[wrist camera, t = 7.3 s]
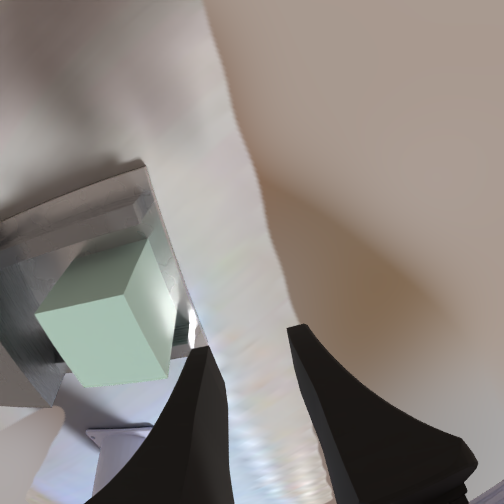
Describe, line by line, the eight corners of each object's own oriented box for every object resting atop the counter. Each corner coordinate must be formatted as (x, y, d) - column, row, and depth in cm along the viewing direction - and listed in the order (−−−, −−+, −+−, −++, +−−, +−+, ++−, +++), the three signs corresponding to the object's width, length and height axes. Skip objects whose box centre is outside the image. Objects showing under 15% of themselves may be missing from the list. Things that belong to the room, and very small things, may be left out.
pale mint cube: (176, 311, 19) (167, 378, 14) (107, 325, 19) (84, 387, 14) (148, 238, 17) (123, 294, 12) (73, 259, 17) (34, 314, 12)
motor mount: (207, 341, 21) (208, 405, 16) (18, 367, 21) (-4, 413, 16) (140, 147, 15) (106, 168, 10) (-56, 237, 15) (-99, 271, 10)
